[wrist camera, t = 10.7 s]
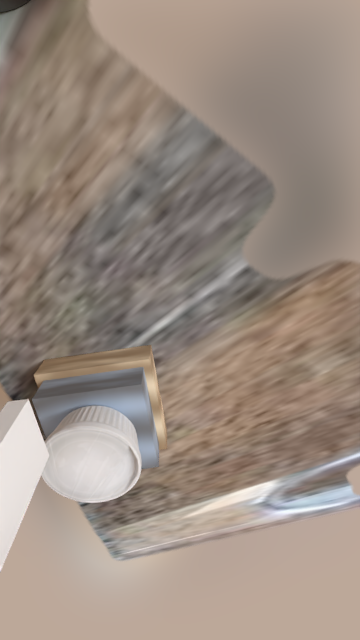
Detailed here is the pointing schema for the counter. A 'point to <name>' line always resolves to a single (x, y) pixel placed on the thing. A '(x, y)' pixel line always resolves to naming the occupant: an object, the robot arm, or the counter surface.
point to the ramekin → (92, 455)
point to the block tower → (105, 393)
